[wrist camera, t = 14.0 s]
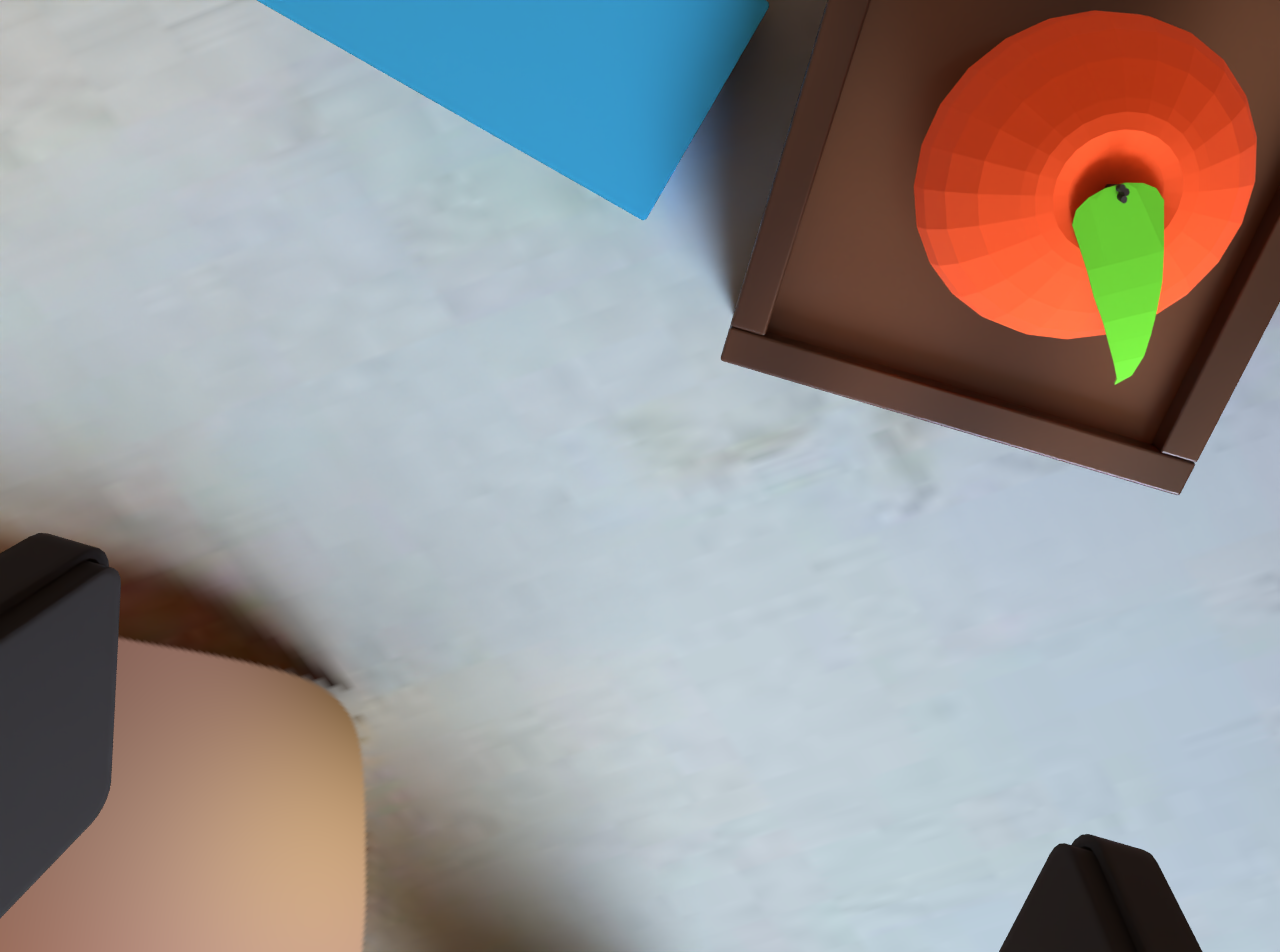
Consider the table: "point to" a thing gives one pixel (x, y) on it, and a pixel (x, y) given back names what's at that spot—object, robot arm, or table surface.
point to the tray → (919, 299)
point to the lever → (557, 73)
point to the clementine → (1086, 177)
